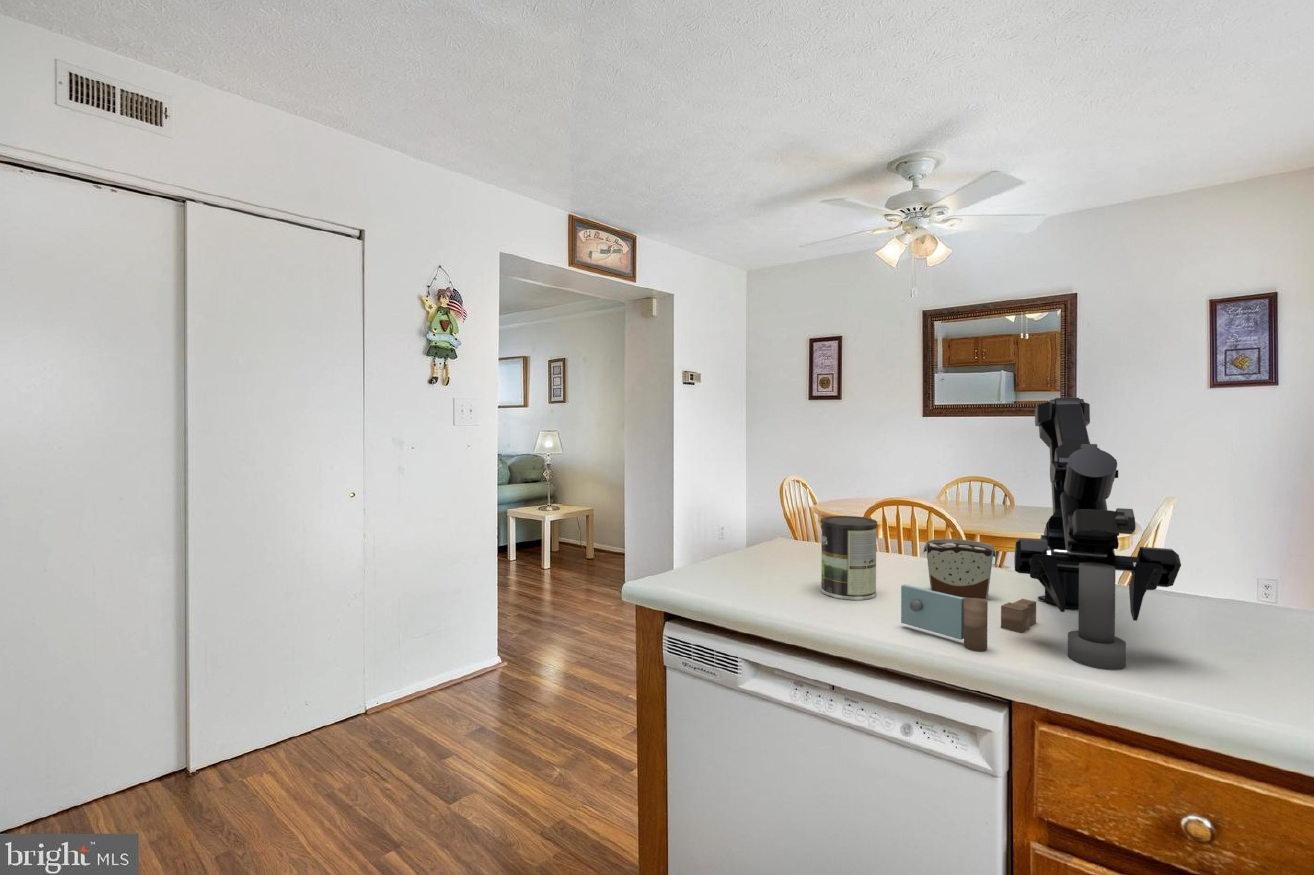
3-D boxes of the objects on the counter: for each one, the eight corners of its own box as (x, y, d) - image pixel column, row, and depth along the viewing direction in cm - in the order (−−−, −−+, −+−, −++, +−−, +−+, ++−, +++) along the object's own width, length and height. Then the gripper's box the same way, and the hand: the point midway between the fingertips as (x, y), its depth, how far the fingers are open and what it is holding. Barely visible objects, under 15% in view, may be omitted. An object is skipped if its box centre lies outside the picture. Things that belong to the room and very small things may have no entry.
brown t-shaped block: (981, 652, 84) (981, 605, 84) (959, 646, 87) (960, 600, 87) (1039, 623, 96) (1039, 581, 96) (1019, 619, 99) (1019, 578, 99)
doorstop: (1090, 649, 86) (1091, 559, 85) (1137, 666, 80) (1138, 569, 79) (1056, 654, 84) (1057, 562, 83) (1102, 672, 78) (1103, 573, 77)
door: (964, 638, 88) (964, 597, 88) (957, 641, 87) (958, 600, 87) (904, 621, 96) (904, 584, 96) (897, 624, 95) (897, 586, 94)
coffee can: (818, 597, 112) (818, 522, 111) (822, 583, 121) (822, 514, 121) (877, 602, 108) (877, 525, 108) (876, 588, 118) (877, 517, 118)
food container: (989, 592, 115) (990, 540, 114) (996, 601, 109) (996, 546, 109) (919, 586, 119) (920, 536, 118) (922, 595, 113) (923, 542, 113)
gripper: (1016, 484, 89) (1020, 574, 79) (1177, 489, 80) (1204, 592, 71) (1012, 528, 96) (1016, 616, 87) (1160, 538, 87) (1183, 637, 78)
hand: (1098, 614), depth 80 cm, fingers open, 8 cm apart
